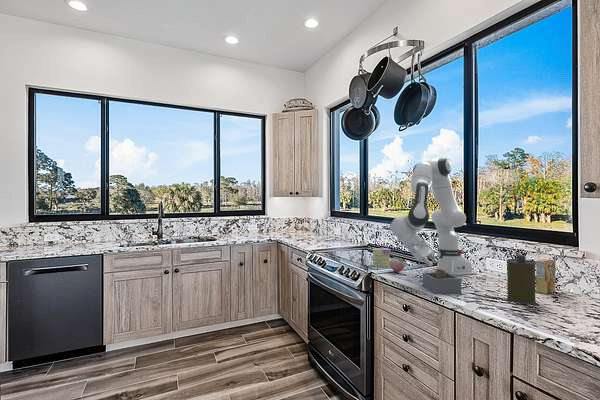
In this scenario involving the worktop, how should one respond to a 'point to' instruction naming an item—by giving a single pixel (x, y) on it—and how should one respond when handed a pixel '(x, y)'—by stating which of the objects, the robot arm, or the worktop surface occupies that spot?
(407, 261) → the fork
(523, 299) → the canister
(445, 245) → the robot arm
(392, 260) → the decorative fruit
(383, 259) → the box
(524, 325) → the worktop surface
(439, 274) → the walnut peg
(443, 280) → the socket box
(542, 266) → the candy box
